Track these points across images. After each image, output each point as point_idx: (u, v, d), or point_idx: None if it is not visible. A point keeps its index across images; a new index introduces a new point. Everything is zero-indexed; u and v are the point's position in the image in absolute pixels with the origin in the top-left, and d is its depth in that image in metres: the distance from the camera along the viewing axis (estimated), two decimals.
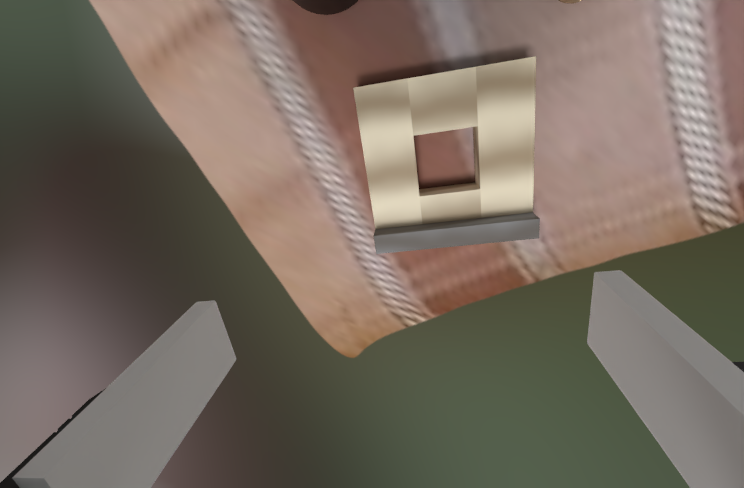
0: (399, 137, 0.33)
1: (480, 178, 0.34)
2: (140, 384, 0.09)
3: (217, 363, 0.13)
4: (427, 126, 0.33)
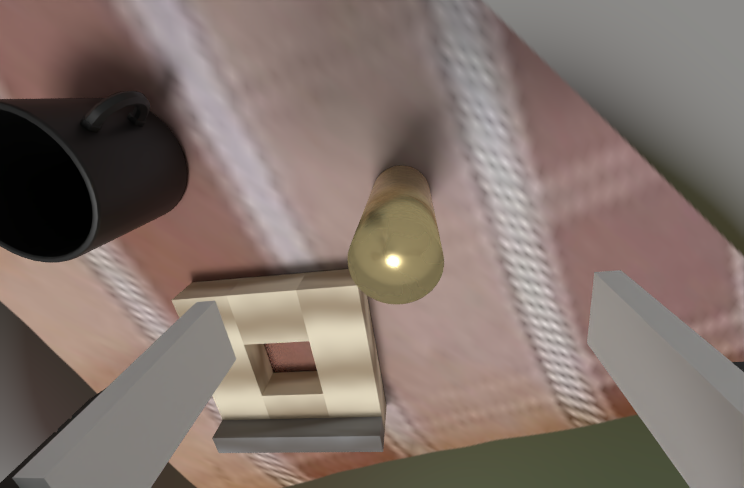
0: None
1: (321, 384, 0.32)
2: (140, 384, 0.09)
3: (217, 363, 0.13)
4: (257, 338, 0.30)
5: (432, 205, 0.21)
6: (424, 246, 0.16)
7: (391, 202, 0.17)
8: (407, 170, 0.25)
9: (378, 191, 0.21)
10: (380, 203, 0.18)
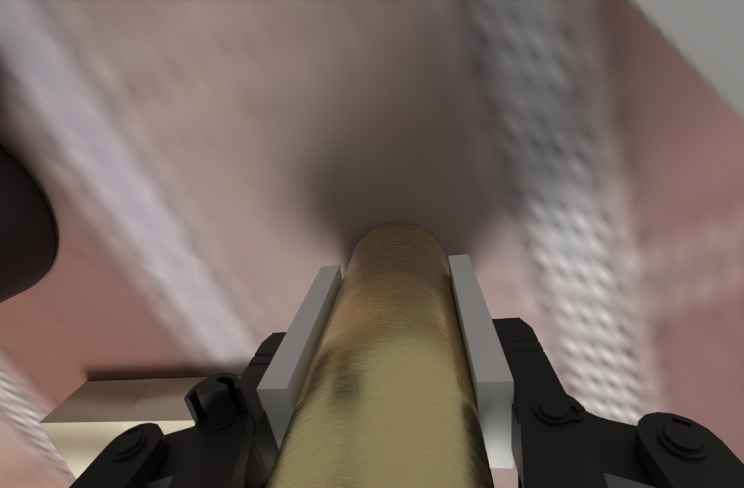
0: None
1: None
2: (315, 326, 0.11)
3: None
4: None
5: (459, 328, 0.10)
6: None
7: (366, 388, 0.07)
8: (409, 237, 0.14)
9: (348, 305, 0.10)
10: (339, 382, 0.07)
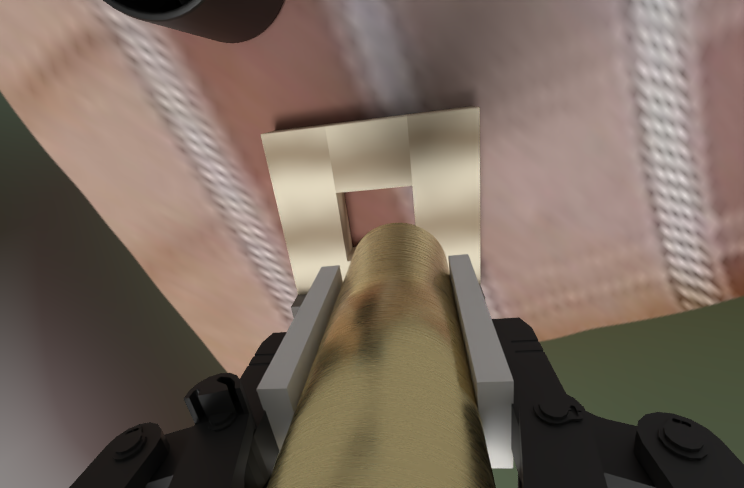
0: (319, 194, 0.28)
1: None
2: (315, 326, 0.11)
3: None
4: (352, 183, 0.27)
5: (460, 329, 0.10)
6: None
7: (368, 389, 0.07)
8: (409, 237, 0.14)
9: (349, 305, 0.10)
10: (341, 383, 0.07)
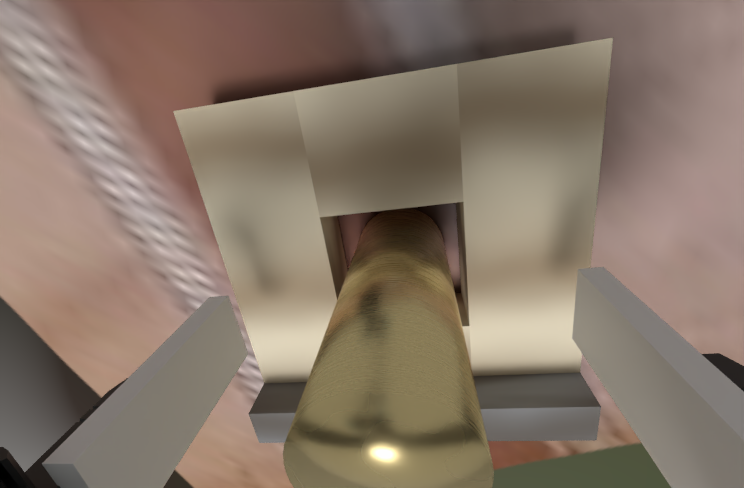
0: (289, 219, 0.15)
1: (469, 305, 0.16)
2: (159, 375, 0.09)
3: (230, 357, 0.13)
4: (350, 199, 0.14)
5: (453, 289, 0.13)
6: (451, 448, 0.07)
7: (380, 317, 0.09)
8: (410, 218, 0.16)
9: (361, 268, 0.12)
10: (359, 315, 0.09)
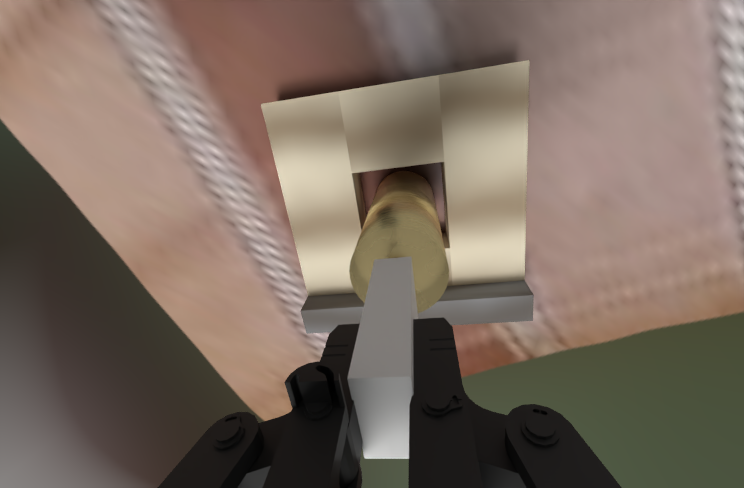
0: (331, 175, 0.23)
1: (449, 233, 0.24)
2: None
3: None
4: (371, 161, 0.23)
5: (436, 212, 0.21)
6: (429, 257, 0.15)
7: (394, 210, 0.17)
8: (410, 176, 0.24)
9: (381, 198, 0.20)
10: (383, 211, 0.17)
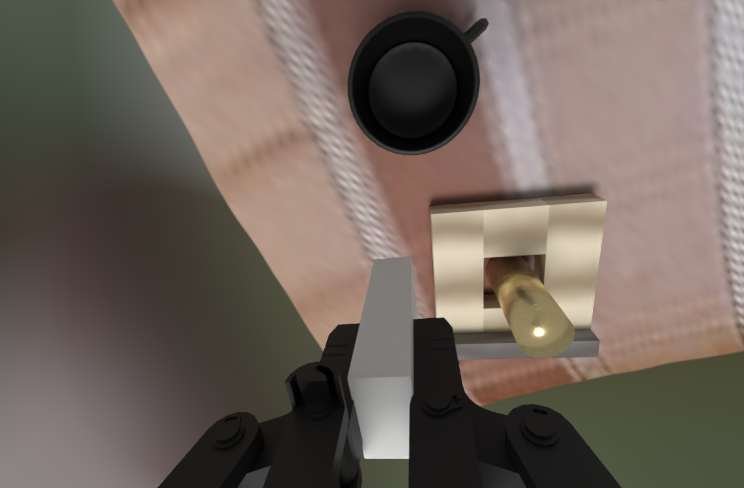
0: (469, 258, 0.36)
1: None
2: None
3: None
4: (498, 251, 0.35)
5: None
6: (564, 327, 0.27)
7: (536, 296, 0.29)
8: (518, 258, 0.36)
9: (513, 280, 0.33)
10: (527, 295, 0.30)
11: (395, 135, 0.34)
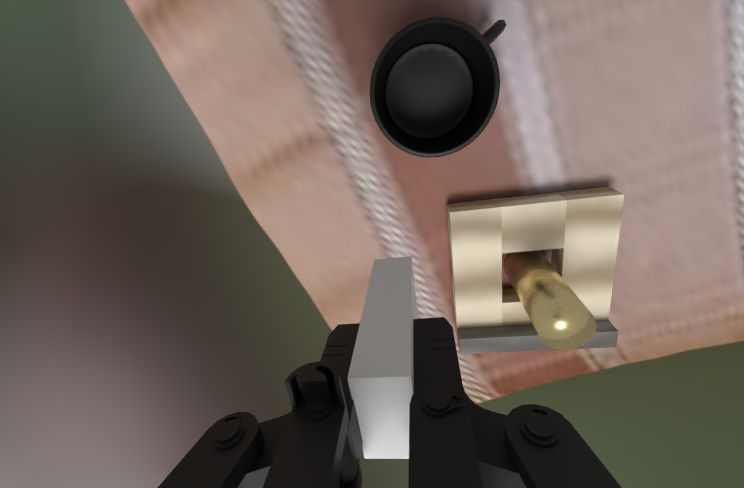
0: (488, 254, 0.36)
1: None
2: None
3: None
4: (516, 246, 0.36)
5: None
6: (586, 320, 0.28)
7: (557, 290, 0.30)
8: (535, 252, 0.37)
9: (532, 275, 0.33)
10: (548, 289, 0.30)
11: (412, 136, 0.35)
